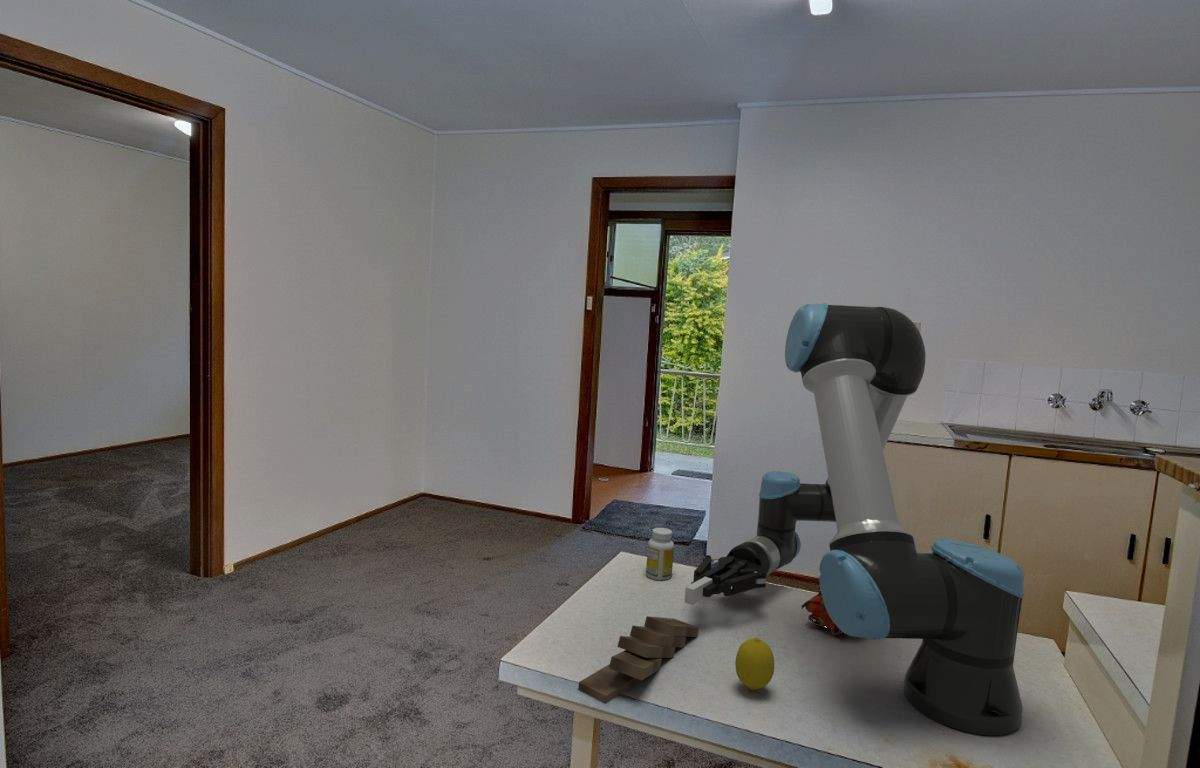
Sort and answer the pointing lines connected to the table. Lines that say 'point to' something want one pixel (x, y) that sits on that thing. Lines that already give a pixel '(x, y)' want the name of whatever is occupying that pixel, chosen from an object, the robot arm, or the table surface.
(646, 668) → the domino
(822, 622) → the dragon fruit
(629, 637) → the domino
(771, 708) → the table surface
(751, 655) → the lemon
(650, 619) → the domino
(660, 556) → the supplement bottle
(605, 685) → the domino
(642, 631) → the domino
